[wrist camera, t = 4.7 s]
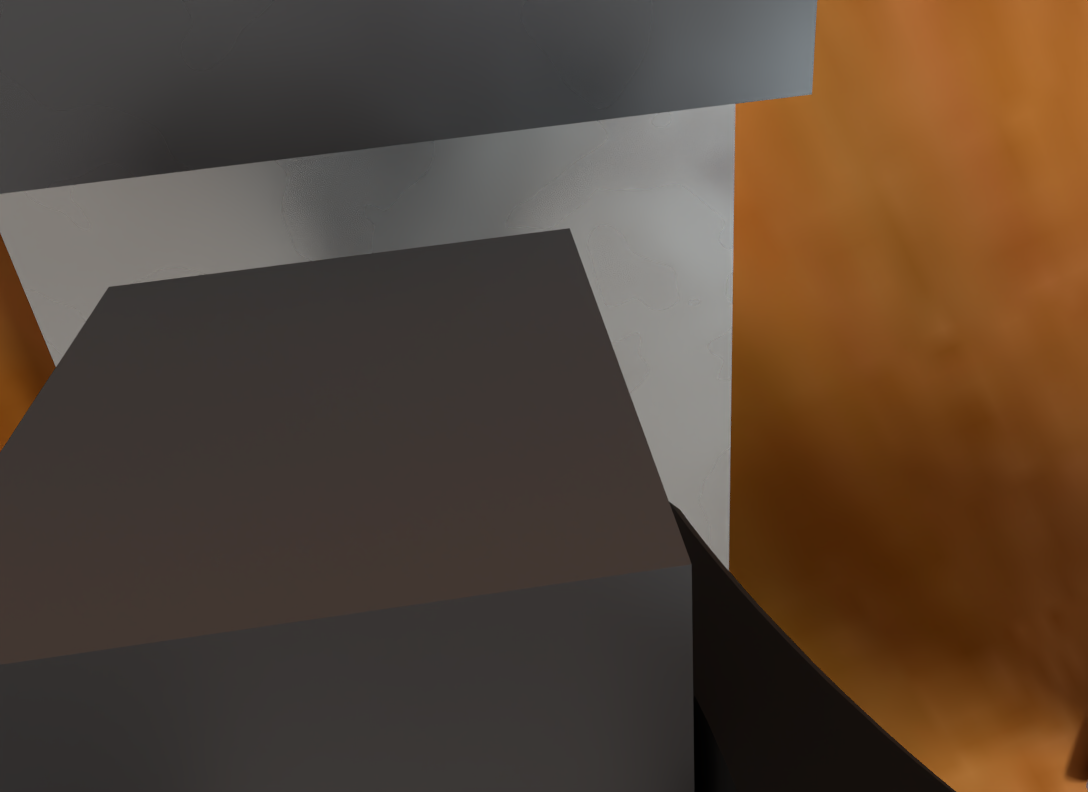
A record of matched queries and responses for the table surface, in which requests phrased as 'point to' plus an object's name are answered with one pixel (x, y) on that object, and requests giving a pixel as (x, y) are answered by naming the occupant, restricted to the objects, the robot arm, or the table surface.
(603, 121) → the frame
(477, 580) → the block
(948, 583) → the table surface
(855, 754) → the robot arm
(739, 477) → the table surface
